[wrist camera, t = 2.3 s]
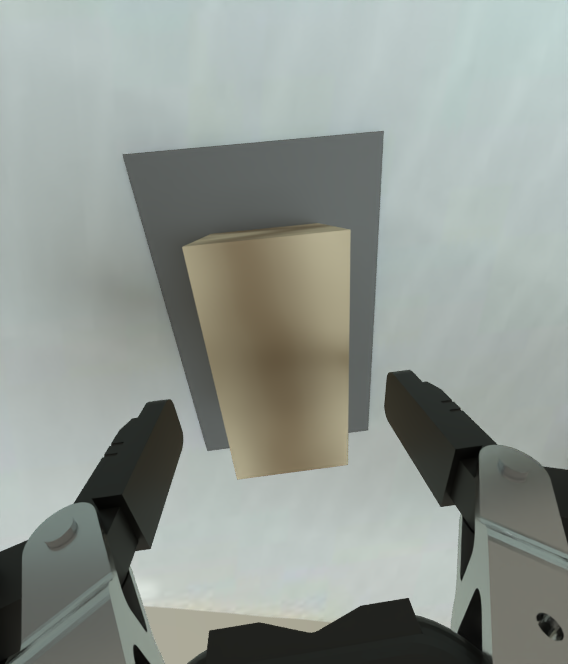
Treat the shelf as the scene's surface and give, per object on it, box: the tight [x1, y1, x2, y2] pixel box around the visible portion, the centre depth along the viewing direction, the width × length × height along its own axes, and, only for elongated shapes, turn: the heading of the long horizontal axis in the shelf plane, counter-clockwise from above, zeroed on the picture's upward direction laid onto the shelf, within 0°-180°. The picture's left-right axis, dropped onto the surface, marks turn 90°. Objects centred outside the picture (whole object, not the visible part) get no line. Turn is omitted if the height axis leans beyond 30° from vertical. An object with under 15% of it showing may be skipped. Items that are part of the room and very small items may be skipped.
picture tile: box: [123, 131, 384, 451], centre depth 18 cm, size 13×20×1 cm, turn 5°
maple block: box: [182, 223, 351, 480], centre depth 15 cm, size 6×12×6 cm, turn 5°
